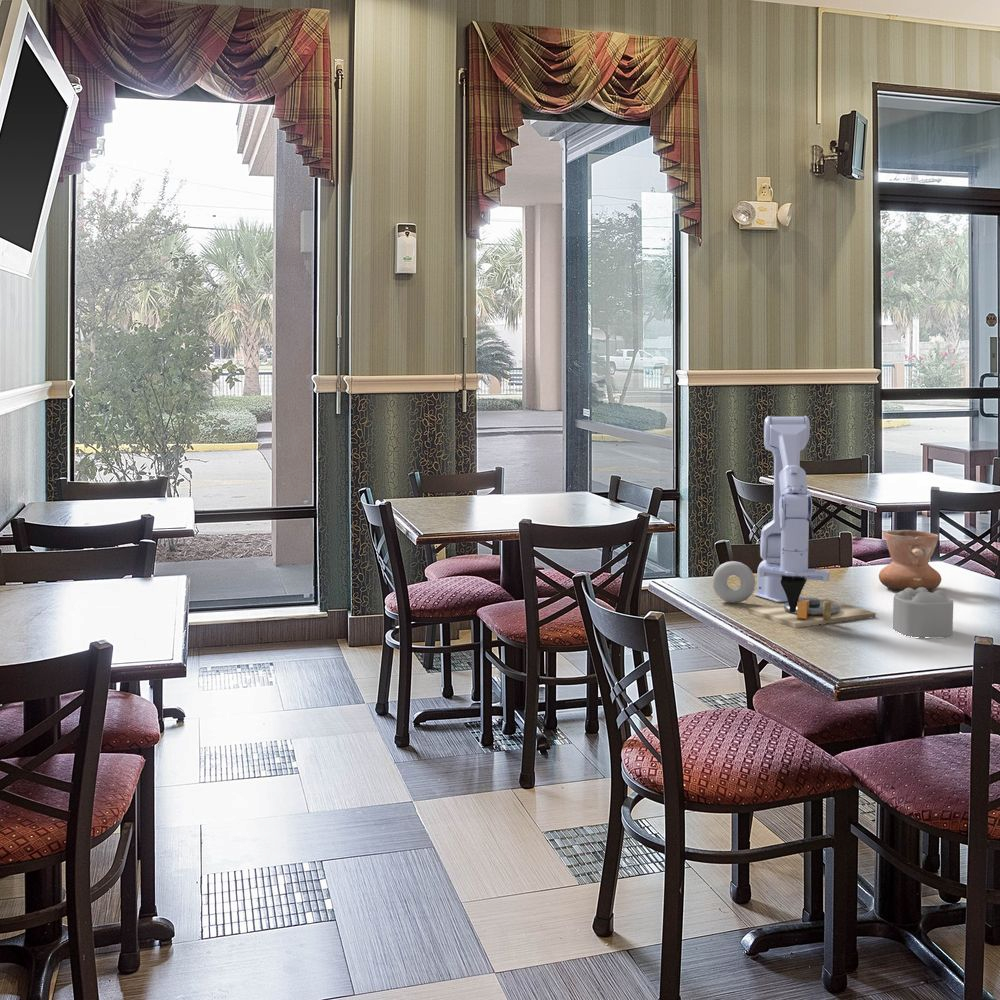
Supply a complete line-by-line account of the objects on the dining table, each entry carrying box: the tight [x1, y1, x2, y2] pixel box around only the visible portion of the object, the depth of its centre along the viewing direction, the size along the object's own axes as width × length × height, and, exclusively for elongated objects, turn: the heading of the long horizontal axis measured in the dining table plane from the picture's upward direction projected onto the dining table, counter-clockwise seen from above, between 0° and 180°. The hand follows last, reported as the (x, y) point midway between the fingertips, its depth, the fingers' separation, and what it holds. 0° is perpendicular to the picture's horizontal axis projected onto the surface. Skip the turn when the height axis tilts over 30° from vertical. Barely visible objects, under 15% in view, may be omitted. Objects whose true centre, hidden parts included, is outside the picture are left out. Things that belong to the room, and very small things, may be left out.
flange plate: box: [783, 597, 840, 619], centre depth 237 cm, size 12×16×4 cm
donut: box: [711, 560, 756, 604], centre depth 252 cm, size 10×4×10 cm, turn 69°
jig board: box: [748, 598, 877, 629], centre depth 238 cm, size 17×22×5 cm
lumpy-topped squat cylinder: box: [892, 587, 954, 639], centre depth 223 cm, size 10×13×9 cm
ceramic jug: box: [878, 529, 942, 592], centre depth 265 cm, size 18×14×14 cm
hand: (793, 611), depth 232 cm, fingers closed
